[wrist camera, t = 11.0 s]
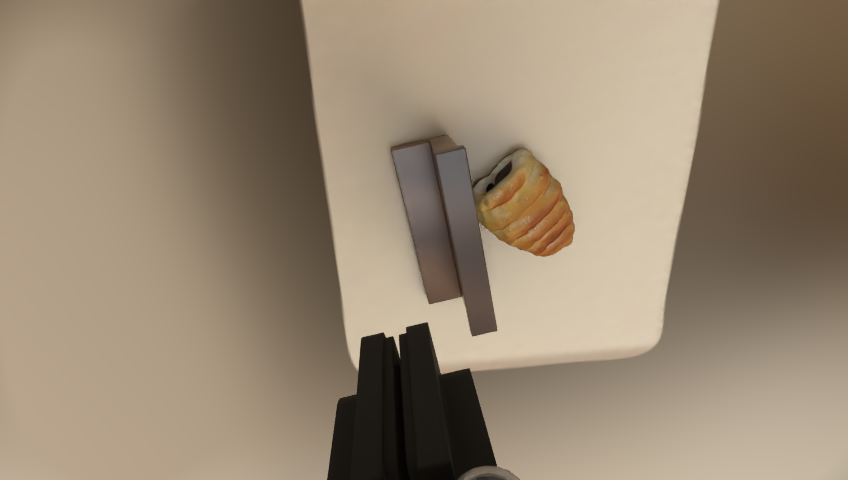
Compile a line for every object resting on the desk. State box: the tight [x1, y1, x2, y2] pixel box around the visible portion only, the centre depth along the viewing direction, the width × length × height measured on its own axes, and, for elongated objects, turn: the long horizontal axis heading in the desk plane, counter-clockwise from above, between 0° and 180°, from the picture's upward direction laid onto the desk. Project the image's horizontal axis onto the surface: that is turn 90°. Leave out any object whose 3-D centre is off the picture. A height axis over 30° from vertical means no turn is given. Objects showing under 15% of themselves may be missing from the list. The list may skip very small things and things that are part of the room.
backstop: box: [391, 135, 497, 336], centre depth 33 cm, size 14×5×7 cm, turn 12°
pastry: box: [473, 149, 575, 257], centre depth 35 cm, size 9×7×4 cm
